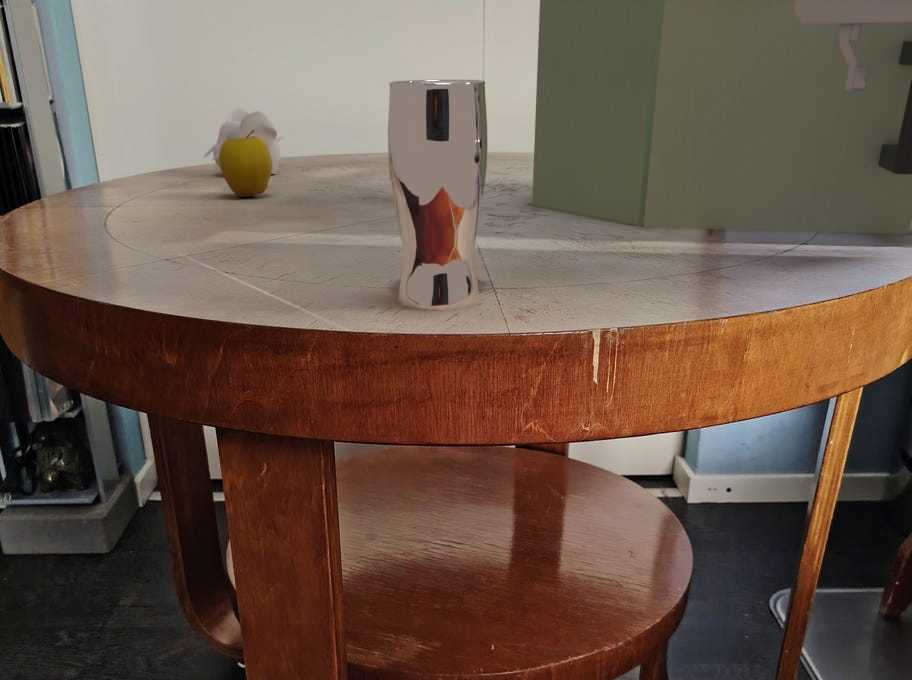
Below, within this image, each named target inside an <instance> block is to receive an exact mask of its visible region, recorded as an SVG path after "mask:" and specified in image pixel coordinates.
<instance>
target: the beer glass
mask: <svg viewBox="0 0 912 680" xmlns="http://www.w3.org/2000/svg"><path fill="white" fill-rule="evenodd" d="M387 113H388V114H387V155H388V156H387V158H388V170H389V177H390V184H391V190H392V195H393V200H394V201H393V202H394V205H395V206H394V207H395V211H396V217H397V221H398V226H399V232H400V238H401V247H402V248H401V250H402V269H401V277H400V284H399V290H398V302H399V304H400V305H402V306H404V307H407V308H410V309H414V310H422V311H438V312H439V311H453V310H454V311H455V310H461V309H466V308H469V307H472V306H475V305H477V304H478V303H479V302H480V290H479V284H478V278H477V272H476V264H475V261H476V260H475V248H476V247H475V246H476V238H477V237H476V236H477V231H478V223H479V218H480V213H481V207H482V201H483V197H484V191H485V190H484V189H485V184H486V183H485V182H486V174H487V166H488V149H489V147H488V146H489V145H488V142H489V141H488V119H487V118H488V113H487V100H486V81H485V80H481V79H409V80H393V81H390V82H388V111H387Z"/></svg>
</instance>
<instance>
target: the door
mask: <svg viewBox="0 0 912 680" xmlns="http://www.w3.org/2000/svg"><path fill="white" fill-rule="evenodd" d="M795 2H796V0H665V2H664V13H663V24H662V34H661V45H660V56H659V66H658V77H657V88H656V98H655V109H654V120H653V130H652V141H651V152H650V162H649V173H648V184H647V194H646V205H645V216H644V225H643V228H645V229H684V230H685V229H689V230H725V231H726V230H729V231H736V230H737V231H771V232H773V231H774V232H809V233H810V232H813V233H814V232H816V233H818V232H819V233H854V234H855V233H859V234H897V235H898V234H900V235H902V234H903V235H905V234H906V235H909V234H910V231H911V226H912V23H874V24H862V26H861V31H860V37H859V39H858V40H851V43H852V46H853V49H854V52H855V54H856V57H857V60H858V63H859V65H870V69H869V74H868V75H867V77H866V79H867V84H866V89H865V91H852V90H851V91H845V85H846V80H847V74H848V69H849V65H847V63H846V60H845V58H844V55H843V52H842V50H841V47H840V44H839V42H838V39H839V33H840V27H841V24H819V25H804V24H802V23H801V22H800V21H799V20H798V18H797V17H796V15H795V12H794V9H795Z"/></svg>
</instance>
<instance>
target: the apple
mask: <svg viewBox="0 0 912 680" xmlns="http://www.w3.org/2000/svg"><path fill="white" fill-rule="evenodd" d="M253 132H254V130H253V131H252V132H251V133H250V134H249V135H248V136H247V137H246V138H241V139H233V138H231V139H228V140H226V141H225V142H224V143H223V144H222V146H221V148H220V153H219V163H220V167H219V168H220V171H221V174H222V176H223V179H224V180H225V182H226V184H227V186H228V187H229V188H230V190H231V191H232V192H233V193H234V194H235V195H236V196H237V197H238V198H246V197H254V196H255V195H260V194H263V193H264V192H266V190H267V188H268V185H269V183H270V182H269V181H270V178H271V176H272V175H271V172H272V160H271V156H270V153H269V150H268V147H267V145H266V144H265V142H264V141H263V140H262V139H260V138H259V137H255V136H253V137H250V138H249V136H250V135H251V134H252V133H253Z"/></svg>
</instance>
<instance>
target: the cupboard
mask: <svg viewBox="0 0 912 680" xmlns="http://www.w3.org/2000/svg"><path fill="white" fill-rule="evenodd" d="M664 2H665V0H539V12H538V14H539V15H538V42H537V63H536V64H537V66H536V67H537V68H536V69H537V71H536V90H535V92H536V93H535V95H536V96H535V120H534V141H533V142H534V143H533V144H534V146H533V171H532V172H533V173H532V195H531V196H532V197H531V198H532V199H531V205H532V206H534V207H539V208H546V209H550V210H554V211H560V212H564V213H565V212H566V213H571V214H575V215H580V216H581V215H582V216H586V217H590V218H596V219H602V220H607V221H613V222H618V223H621V224H628V225H633V226H644V216H645V205H646V194H647V184H648V173H649V162H650V152H651V141H652V130H653V120H654V109H655V98H656V88H657V77H658V66H659V56H660V45H661V34H662V24H663V13H664Z"/></svg>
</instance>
